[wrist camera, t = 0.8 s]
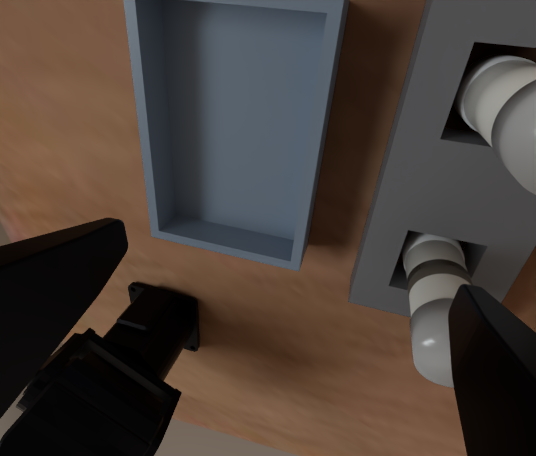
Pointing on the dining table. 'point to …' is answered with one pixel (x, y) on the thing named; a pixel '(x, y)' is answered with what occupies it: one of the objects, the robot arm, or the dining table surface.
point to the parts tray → (234, 119)
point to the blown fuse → (432, 299)
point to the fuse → (503, 111)
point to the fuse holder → (447, 164)
